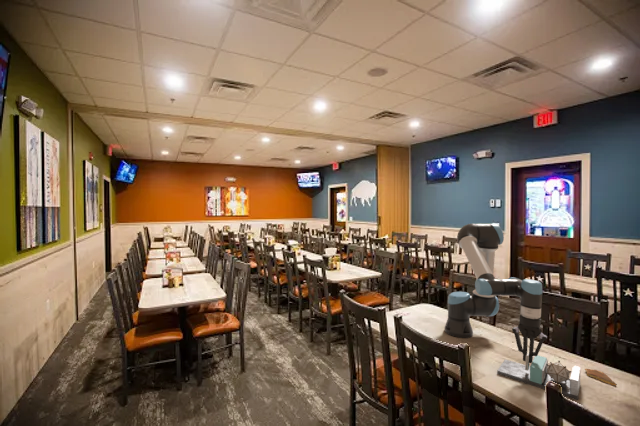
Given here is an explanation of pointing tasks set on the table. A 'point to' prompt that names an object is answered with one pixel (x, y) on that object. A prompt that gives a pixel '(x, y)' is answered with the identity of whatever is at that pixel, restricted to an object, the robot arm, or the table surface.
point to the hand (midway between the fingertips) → (527, 369)
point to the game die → (558, 372)
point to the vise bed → (520, 374)
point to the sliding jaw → (538, 369)
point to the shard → (599, 376)
